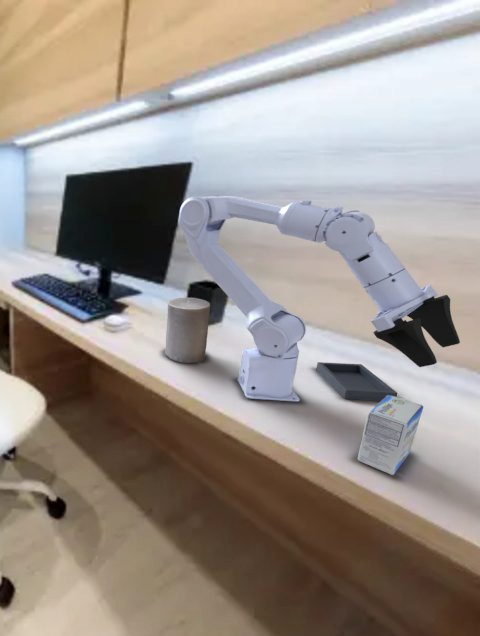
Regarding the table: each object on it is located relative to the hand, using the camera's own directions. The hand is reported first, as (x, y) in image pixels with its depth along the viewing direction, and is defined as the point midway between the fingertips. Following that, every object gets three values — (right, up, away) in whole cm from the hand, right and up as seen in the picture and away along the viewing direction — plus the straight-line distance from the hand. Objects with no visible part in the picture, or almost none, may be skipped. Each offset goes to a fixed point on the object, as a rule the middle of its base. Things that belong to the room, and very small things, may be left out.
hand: (440, 354), depth 57 cm
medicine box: (-8, -16, +1) cm, 18 cm away
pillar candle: (-26, -4, +38) cm, 46 cm away
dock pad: (+3, -8, +22) cm, 23 cm away
